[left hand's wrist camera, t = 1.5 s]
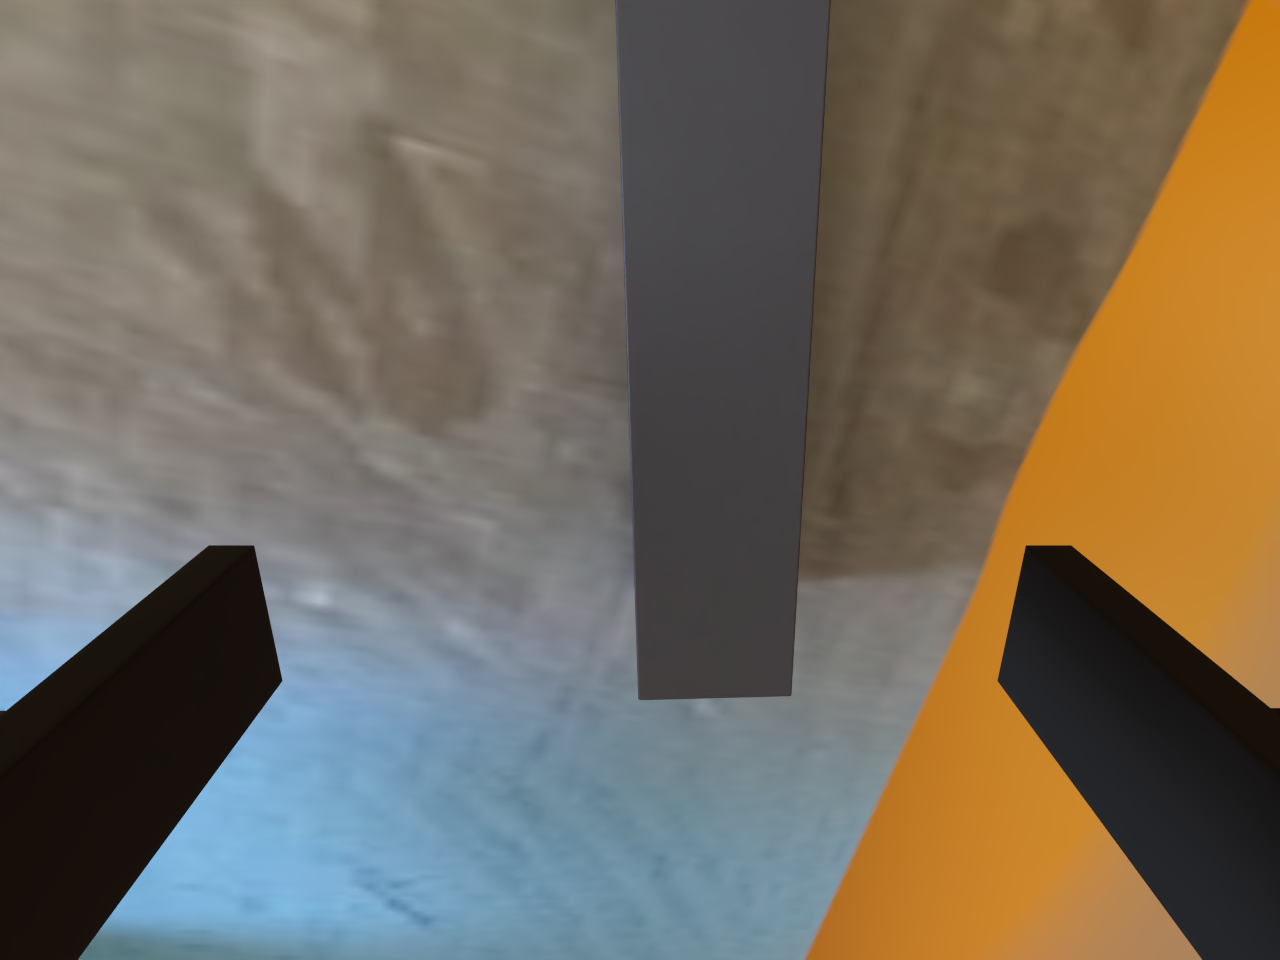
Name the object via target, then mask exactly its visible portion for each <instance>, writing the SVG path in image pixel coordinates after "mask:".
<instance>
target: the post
mask: <svg viewBox="0 0 1280 960" xmlns="http://www.w3.org/2000/svg"><path fill="white" fill-rule="evenodd" d="M615 1H616V32H617V62H618V93H619V123H620V154H621V185H622V215H623V246H624V276H625V307H626V337H627V368H628V399H629V429H630V460H631V490H632V521H633V552H634V582H635V613H636V643H637V674H638V699H639V700H660V699H697V698H734V697H771V696H791V692H792V674H793V656H794V639H795V621H796V603H797V586H798V568H799V550H800V533H801V515H802V497H803V480H804V462H805V444H806V427H807V409H808V391H809V374H810V356H811V338H812V321H813V303H814V285H815V268H816V250H817V232H818V215H819V197H820V179H821V162H822V144H823V126H824V109H825V91H826V73H827V56H828V38H829V20H830V3H831V0H615Z"/></svg>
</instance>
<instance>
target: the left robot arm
mask: <svg viewBox="0 0 1280 960" xmlns="http://www.w3.org/2000/svg"><path fill="white" fill-rule="evenodd" d="M281 682H282V677H281V672H280V667H279V662H278V658H277V653H276V648H275V643H274V639H273V634H272V629H271V624H270V620H269V615H268V610H267V605H266V600H265V596H264V591H263V586H262V581H261V577H260V572H259V567H258V562H257V558H256V553H255V548H254V546H208V547H207V548H205V549H204V550H203V551H202V552H200V553H199V554H198V555H197V556H196V557H194V558H193V559H192V560H191V561H189V562H188V563H187V564H186V565H185V566H183V567H182V568H181V569H180V570H178V571H177V572H176V573H175V574H173V575H172V576H171V577H170V578H169V579H167V580H166V581H165V582H164V583H162V584H161V585H160V586H159V587H158V588H156V589H155V590H154V591H153V592H151V593H150V594H149V595H148V596H147V597H145V598H144V599H143V600H142V601H140V602H139V603H138V604H137V605H135V606H134V607H133V608H132V609H131V610H129V611H128V612H127V613H126V614H124V615H123V616H122V617H121V618H120V619H118V620H117V621H116V622H115V623H113V624H112V625H111V626H110V627H109V628H107V629H106V630H105V631H104V632H102V633H101V634H100V635H99V636H97V637H96V638H95V639H94V640H93V641H91V642H90V643H89V644H88V645H86V646H85V647H84V648H83V649H82V650H80V651H79V652H78V653H77V654H75V655H74V656H73V657H72V658H71V659H69V660H68V661H67V662H66V663H64V664H63V665H62V666H61V667H60V668H58V669H57V670H56V671H55V672H53V673H52V674H51V675H50V676H48V677H47V678H46V679H45V680H44V681H42V682H41V683H40V684H39V685H37V686H36V687H35V688H34V689H33V690H31V691H30V692H29V693H28V694H26V695H25V696H24V697H23V698H22V699H20V700H19V701H18V702H17V703H15V704H14V705H13V706H12V707H10V708H9V709H8V710H7V711H0V960H78V958H79V957H80V956H81V954H82V953H83V952H84V950H85V949H86V948H87V946H88V945H89V943H90V942H91V941H92V939H93V938H94V937H95V935H96V934H97V933H98V931H99V930H100V929H101V927H102V926H103V924H104V923H105V922H106V920H107V919H108V918H109V916H110V915H111V914H112V912H113V911H114V909H115V908H116V907H117V905H118V904H119V903H120V901H121V900H122V899H123V897H124V896H125V894H126V893H127V892H128V890H129V889H130V888H131V886H132V885H133V884H134V882H135V881H136V879H137V878H138V877H139V875H140V874H141V873H142V871H143V870H144V869H145V867H146V866H147V865H148V863H149V862H150V860H151V859H152V858H153V856H154V855H155V854H156V852H157V851H158V850H159V848H160V847H161V845H162V844H163V843H164V841H165V840H166V839H167V837H168V836H169V835H170V833H171V832H172V830H173V829H174V828H175V826H176V825H177V824H178V822H179V821H180V820H181V818H182V817H183V815H184V814H185V813H186V811H187V810H188V809H189V807H190V806H191V805H192V803H193V802H194V801H195V799H196V798H197V796H198V795H199V794H200V792H201V791H202V790H203V788H204V787H205V786H206V784H207V783H208V781H209V780H210V779H211V777H212V776H213V775H214V773H215V772H216V771H217V769H218V768H219V766H220V765H221V764H222V762H223V761H224V760H225V758H226V757H227V756H228V754H229V753H230V751H231V750H232V749H233V747H234V746H235V745H236V743H237V742H238V741H239V739H240V738H241V737H242V735H243V734H244V732H245V731H246V730H247V728H248V727H249V726H250V724H251V723H252V722H253V720H254V719H255V717H256V716H257V715H258V713H259V712H260V711H261V709H262V708H263V707H264V705H265V704H266V702H267V701H268V700H269V698H270V697H271V696H272V694H273V693H274V692H275V690H276V689H277V687H278V686H279V685H280V683H281ZM998 682H999V683H1000V685H1001V686H1002V687H1003V689H1004V690H1005V692H1006V693H1007V694H1008V696H1009V697H1010V698H1011V700H1012V701H1013V702H1014V704H1015V705H1016V707H1017V708H1018V709H1019V711H1020V712H1021V713H1022V715H1023V716H1024V717H1025V719H1026V720H1027V722H1028V723H1029V724H1030V726H1031V727H1032V728H1033V730H1034V731H1035V732H1036V734H1037V735H1038V736H1039V738H1040V739H1041V741H1042V742H1043V743H1044V745H1045V746H1046V747H1047V749H1048V750H1049V751H1050V753H1051V754H1052V756H1053V757H1054V758H1055V760H1056V761H1057V762H1058V764H1059V765H1060V766H1061V768H1062V769H1063V771H1064V772H1065V773H1066V775H1067V776H1068V777H1069V779H1070V780H1071V781H1072V783H1073V784H1074V786H1075V787H1076V788H1077V790H1078V791H1079V792H1080V794H1081V795H1082V796H1083V798H1084V799H1085V800H1086V802H1087V803H1088V805H1089V806H1090V807H1091V809H1092V810H1093V811H1094V813H1095V814H1096V815H1097V817H1098V818H1099V819H1100V821H1101V822H1102V824H1103V825H1104V826H1105V828H1106V829H1107V830H1108V832H1109V833H1110V834H1111V836H1112V837H1113V839H1114V840H1115V841H1116V843H1117V844H1118V845H1119V847H1120V848H1121V849H1122V851H1123V852H1124V854H1125V855H1126V856H1127V858H1128V859H1129V860H1130V862H1131V863H1132V865H1133V866H1134V867H1135V869H1136V870H1137V871H1138V873H1139V874H1140V875H1141V877H1142V878H1143V879H1144V881H1145V882H1146V884H1147V885H1148V886H1149V888H1150V889H1151V890H1152V892H1153V893H1154V894H1155V896H1156V897H1157V899H1158V900H1159V901H1160V903H1161V904H1162V905H1163V907H1164V908H1165V909H1166V911H1167V912H1168V913H1169V915H1170V916H1171V917H1172V919H1173V920H1174V922H1175V923H1176V924H1177V926H1178V927H1179V928H1180V930H1181V931H1182V933H1183V934H1184V935H1185V937H1186V938H1187V939H1188V941H1189V942H1190V943H1191V945H1192V946H1193V947H1194V949H1195V950H1196V952H1197V953H1198V954H1199V956H1200V957H1201V958H1202V960H1280V708H1270V707H1268V706H1267V705H1266V704H1265V703H1263V702H1262V701H1261V700H1260V699H1258V698H1257V697H1256V696H1255V695H1254V694H1252V693H1251V692H1250V691H1249V690H1247V689H1246V688H1245V687H1244V686H1243V685H1241V684H1240V683H1239V682H1238V681H1236V680H1235V679H1234V678H1233V677H1232V676H1230V675H1229V674H1228V673H1227V672H1225V671H1224V670H1223V669H1222V668H1220V667H1219V666H1218V665H1217V664H1216V663H1214V662H1213V661H1212V660H1211V659H1209V658H1208V657H1207V656H1206V655H1204V654H1203V653H1202V652H1201V651H1200V650H1198V649H1197V648H1196V647H1195V646H1194V645H1192V644H1191V643H1190V642H1189V641H1187V640H1186V639H1185V638H1184V637H1183V636H1181V635H1180V634H1179V633H1178V632H1176V631H1175V630H1174V629H1173V628H1171V627H1170V626H1169V625H1168V624H1167V623H1165V622H1164V621H1163V620H1162V619H1160V618H1159V617H1158V616H1157V615H1156V614H1154V613H1153V612H1152V611H1151V610H1149V609H1148V608H1147V607H1146V606H1144V605H1143V604H1142V603H1141V602H1140V601H1138V600H1137V599H1136V598H1135V597H1133V596H1132V595H1131V594H1130V593H1129V592H1127V591H1126V590H1125V589H1124V588H1122V587H1121V586H1120V585H1119V584H1118V583H1116V582H1115V581H1114V580H1113V579H1111V578H1110V577H1109V576H1108V575H1107V574H1105V573H1104V572H1103V571H1102V570H1100V569H1099V568H1098V567H1097V566H1095V565H1094V564H1093V563H1092V562H1091V561H1089V560H1088V559H1087V558H1086V557H1084V556H1083V555H1082V554H1081V553H1080V552H1078V551H1077V550H1076V549H1075V548H1073V547H1072V546H1026V548H1025V553H1024V558H1023V562H1022V567H1021V572H1020V577H1019V581H1018V586H1017V591H1016V596H1015V600H1014V605H1013V610H1012V615H1011V620H1010V624H1009V629H1008V634H1007V639H1006V643H1005V648H1004V653H1003V658H1002V663H1001V667H1000V672H999V677H998Z"/></svg>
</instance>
